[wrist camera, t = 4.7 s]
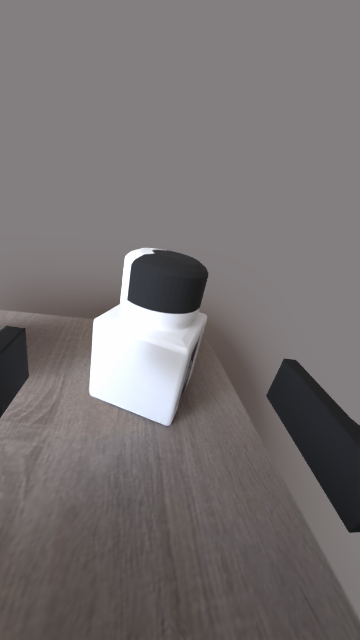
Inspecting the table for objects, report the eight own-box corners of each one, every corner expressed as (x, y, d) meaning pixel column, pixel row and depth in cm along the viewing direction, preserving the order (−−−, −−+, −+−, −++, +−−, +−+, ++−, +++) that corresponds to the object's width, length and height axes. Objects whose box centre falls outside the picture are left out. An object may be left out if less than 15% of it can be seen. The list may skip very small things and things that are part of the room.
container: (191, 376, 26) (224, 260, 21) (169, 429, 19) (209, 276, 14) (128, 353, 27) (144, 239, 22) (87, 396, 21) (95, 245, 15)
